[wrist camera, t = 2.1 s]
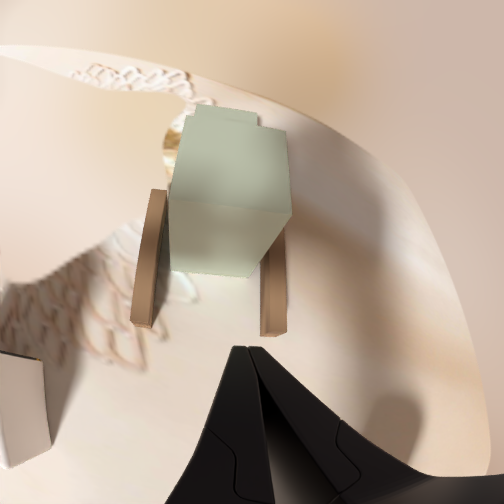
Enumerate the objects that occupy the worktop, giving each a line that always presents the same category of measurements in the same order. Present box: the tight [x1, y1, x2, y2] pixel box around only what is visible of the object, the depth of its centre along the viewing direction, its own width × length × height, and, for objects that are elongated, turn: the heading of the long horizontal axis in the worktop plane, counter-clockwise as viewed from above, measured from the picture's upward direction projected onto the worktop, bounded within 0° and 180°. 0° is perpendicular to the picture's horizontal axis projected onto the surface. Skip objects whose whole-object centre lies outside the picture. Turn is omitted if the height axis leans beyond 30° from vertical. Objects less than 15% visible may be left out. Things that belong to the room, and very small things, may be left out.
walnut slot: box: [130, 189, 287, 337], centre depth 22 cm, size 10×10×2 cm
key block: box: [168, 104, 292, 278], centre depth 22 cm, size 16×6×10 cm, turn 179°
